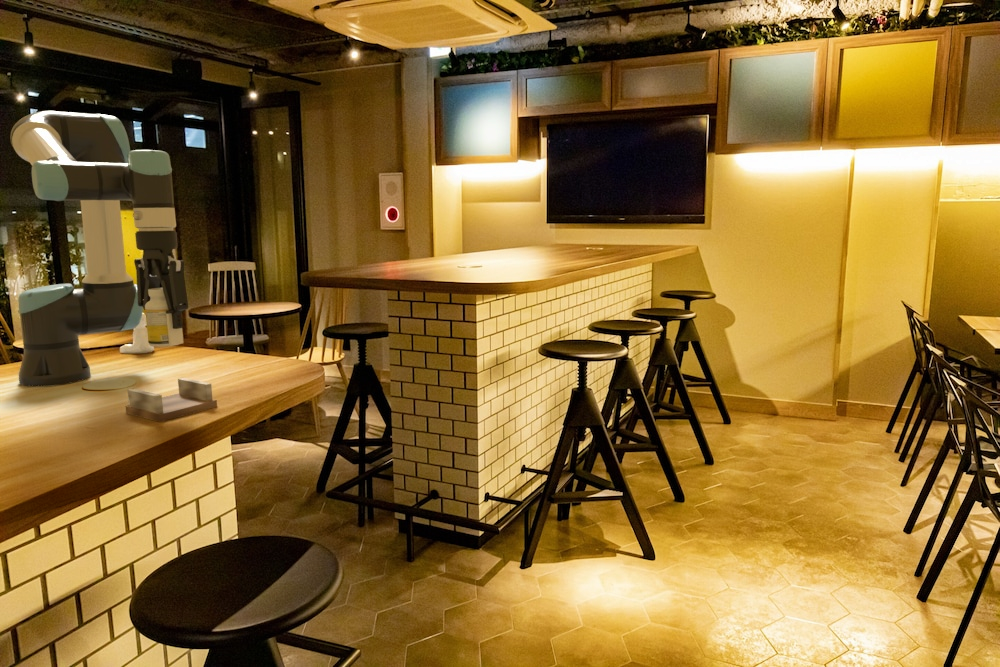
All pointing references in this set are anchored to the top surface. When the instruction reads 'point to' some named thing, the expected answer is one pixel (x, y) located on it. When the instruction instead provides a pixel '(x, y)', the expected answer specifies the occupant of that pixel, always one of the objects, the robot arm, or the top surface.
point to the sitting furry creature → (138, 340)
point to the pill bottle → (157, 318)
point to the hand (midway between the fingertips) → (166, 342)
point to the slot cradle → (171, 401)
